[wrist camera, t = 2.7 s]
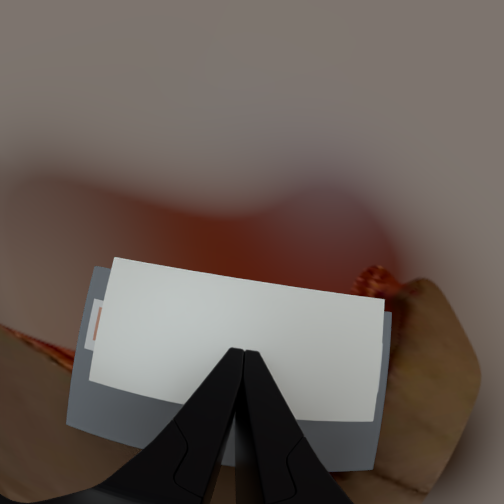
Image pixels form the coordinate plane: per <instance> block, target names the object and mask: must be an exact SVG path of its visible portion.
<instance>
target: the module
mask: <svg viewBox="0 0 504 504" xmlns="http://www.w3.org/2000/svg"><path fill="white" fill-rule="evenodd" d="M383 320H384V299H377V298H369V297H362V296H354V295H347V294H339V293H333V292H325V291H318V290H311V289H305V288H298V287H291V286H284V285H278V284H271V283H265V282H258V281H252V280H245V279H239V278H233V277H227V276H220V275H214V274H208V273H202V272H196V271H190V270H184V269H179V268H173V267H166V266H161V265H156V264H150V263H144V262H138V261H133V260H128V259H122V258H117V257H114V261H113V265H112V269H111V273H110V276H109V280H108V285H107V289H106V293H105V297H104V302H103V306H102V311H101V315H100V320H99V325H98V330H97V335H96V340H95V346H94V351H93V357H92V363H91V369H90V376H89V380H90V381H93V382H96V383H99V384H103V385H106V386H109V387H113V388H116V389H120V390H124V391H127V392H131V393H135V394H139V395H143V396H147V397H151V398H156V399H160V400H165V401H169V402H174V403H179V404H185V402H186V401H187V400H188V399H189V398H190V396H191V395H192V394H193V393H194V392H195V390H196V389H197V388H198V387H199V385H200V384H201V383H202V382H203V381H204V379H205V378H206V377H207V376H208V374H209V373H210V372H211V371H212V369H213V368H214V367H215V366H216V364H217V363H218V362H219V361H220V359H221V358H222V357H223V356H224V354H225V353H226V352H227V351H228V349H229V348H231V347H234V348H241V349H243V350H244V351H245V350H246V349H248V350H255V351H258V352H260V354H261V356H262V358H263V360H264V362H265V364H266V365H267V367H268V369H269V371H270V373H271V375H272V377H273V379H274V380H275V382H276V384H277V386H278V388H279V390H280V391H281V393H282V395H283V397H284V399H285V401H286V402H287V404H288V406H289V408H290V410H291V412H292V413H293V415H294V417H295V419H297V420H313V421H343V422H372V421H373V419H374V412H375V405H376V398H377V390H378V381H379V372H380V361H381V350H382V336H383Z"/></svg>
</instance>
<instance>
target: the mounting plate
mask: <svg viewBox="0 0 504 504" xmlns="http://www.w3.org/2000/svg"><path fill="white" fill-rule="evenodd" d="M110 273H111V269H108V268H103V267H98V266H95V267H94V271H93V275H92V279H91V282H90V287H89V290H88V295H87V299H86V303H85V308H84V312H83V317H82V322H81V327H80V331H79V336H78V342H77V347H76V353H75V359H74V365H73V372H72V378H71V386H70V393H69V402H68V411H67V421H66V425H69V426H72V427H74V428H77V429H80V430H82V431H85V432H88V433H91V434H94V435H97V436H100V437H103V438H106V439H109V440H112V441H116V442H119V443H122V444H126V445H129V446H133V447H137V448H140V449H144V448H145V447H146V446H147V445H148V444H149V443H150V442H151V441H152V440H153V439H154V438H155V437H156V436H157V435H158V434H159V433H160V432H161V431H162V430H163V429H164V427H165V426H166V425H167V424H168V423H169V421H170V420H171V419H173V417H174V416H175V415H176V413H177V412H178V411H179V410H180V409H181V407H182V406H183V405H184V404H179V403H174V402H169V401H165V400H160V399H156V398H151V397H147V396H143V395H139V394H135V393H131V392H127V391H124V390H120V389H116V388H113V387H109V386H106V385H103V384H99V383H96V382H93V381H90V380H89V376H90V369H91V363H92V357H93V351H94V346H95V340H96V335H97V330H98V325H99V320H100V315H101V311H102V306H103V302H104V297H105V293H106V289H107V285H108V280H109V276H110ZM391 317H392V312H384V320H383V336H382V350H381V361H380V372H379V381H378V390H377V398H376V405H375V412H374V419H373V421H372V422H343V421H313V420H297V419H296V421H297V422H298V424H299V426H300V428H301V429H302V431H303V433H304V437H306V438H307V440H308V442H309V443H310V445H311V447H312V449H313V450H314V452H315V453H316V455H317V457H318V458H319V460H320V461H321V463H322V464H323V465H324V467H325V468H326V469H327V471H328V472H335V471H360V470H373V465H374V460H375V455H376V450H377V444H378V439H379V433H380V427H381V420H382V414H383V406H384V399H385V391H386V382H387V373H388V362H389V350H390V336H391ZM234 420H235V415H234ZM234 420H233V424H232V428H231V432H230V435H229V439H228V442H227V446H226V449H225V453H224V456H223V460H222V463H221V465H227V466H235V432H234Z"/></svg>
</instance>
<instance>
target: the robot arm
mask: <svg viewBox="0 0 504 504" xmlns="http://www.w3.org/2000/svg"><path fill="white" fill-rule="evenodd" d="M234 415H235V420H234ZM233 420H234V432H235V481H236V504H354V503H353V502H352V501H351V500H350V498H349V497H348V496H347V495H346V493H345V492H344V491H343V490H342V489H341V487H340V486H339V485H338V484H337V482H336V481H335V480H334V479H333V477H332V476H331V475H330V473H329V472H328V471H327V469H326V468H325V467H324V465H323V464H322V463H321V461H320V460H319V458H318V457H317V455H316V453H315V452H314V450H313V449H312V447H311V445H310V443H309V442H308V440H307V438H306V437H304V433H303V431H302V429H301V428H300V426H299V424H298V422H297V421H296V419H295V417H294V415H293V413H292V412H291V410H290V408H289V406H288V404H287V402H286V401H285V399H284V397H283V395H282V393H281V391H280V390H279V388H278V386H277V384H276V382H275V380H274V379H273V377H272V375H271V373H270V371H269V369H268V367H267V365H266V364H265V362H264V360H263V358H262V356H261V354H260V352H258V351H255V350H248V349H246V350H245V351H244V350H243V349H241V348H234V347H231V348H229V349H228V351H227V352H226V353H225V354H224V356H223V357H222V358H221V359H220V361H219V362H218V363H217V364H216V366H215V367H214V368H213V369H212V371H211V372H210V373H209V374H208V376H207V377H206V378H205V379H204V381H203V382H202V383H201V384H200V385H199V387H198V388H197V389H196V390H195V392H194V393H193V394H192V395H191V396H190V398H189V399H188V400H187V401H186V402H185V404H184V405H183V406H182V407H181V409H180V410H179V411H178V412H177V413H176V415H175V416H174V417H173V419H171V420H170V421H169V423H168V424H167V425H166V426H165V427H164V429H163V430H162V431H161V432H160V433H159V434H158V435H157V436H156V437H155V438H154V439H153V440H152V441H151V442H150V443H149V444H148V445H147V446H146V447H145V448H144V449H143V450H141V451H140V452H139V453H138V454H137V455H136V456H134V457H133V458H132V459H131V460H130V461H128V462H127V463H126V464H125V465H124V466H122V467H121V468H120V469H119V470H117V471H116V472H115V473H114V474H113V475H111V476H110V477H109V478H107V479H106V480H105V481H103V482H102V483H100V484H98V485H96V486H94V487H92V488H89V489H86V490H83V491H79V492H76V493H72V494H68V495H64V496H61V497H56V498H52V499H48V500H44V501H39V502H33V503H20V502H16V501H12V500H10V499H8V498H6V497H4V496H3V495H1V494H0V504H210V501H211V498H212V494H213V491H214V487H215V484H216V481H217V477H218V474H219V470H220V467H221V463H222V460H223V456H224V453H225V449H226V446H227V442H228V439H229V435H230V432H231V428H232V424H233Z"/></svg>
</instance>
